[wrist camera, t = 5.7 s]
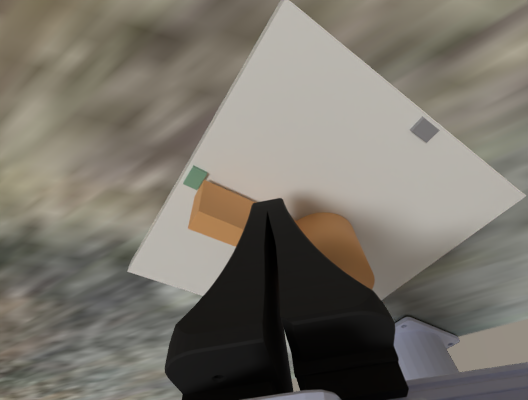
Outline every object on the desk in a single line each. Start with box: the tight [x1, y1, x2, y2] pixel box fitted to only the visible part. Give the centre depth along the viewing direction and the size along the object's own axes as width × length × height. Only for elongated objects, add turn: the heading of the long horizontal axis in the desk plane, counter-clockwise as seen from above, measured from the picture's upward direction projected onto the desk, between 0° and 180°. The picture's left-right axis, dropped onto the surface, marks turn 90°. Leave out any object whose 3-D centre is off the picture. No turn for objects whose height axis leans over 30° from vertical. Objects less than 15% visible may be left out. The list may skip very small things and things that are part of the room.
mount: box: [127, 0, 526, 300], centre depth 19 cm, size 18×18×1 cm
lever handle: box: [188, 180, 375, 290], centre depth 16 cm, size 10×4×4 cm, turn 58°
